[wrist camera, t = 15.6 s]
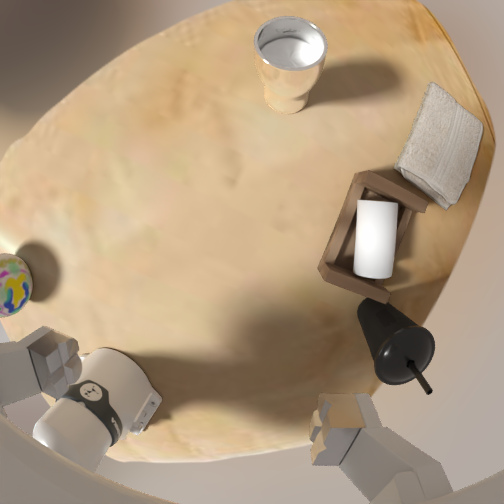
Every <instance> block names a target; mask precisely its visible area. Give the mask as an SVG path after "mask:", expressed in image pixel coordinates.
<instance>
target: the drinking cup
mask: <svg viewBox="0 0 504 504" xmlns="http://www.w3.org/2000/svg"><path fill="white" fill-rule="evenodd" d="M357 315H358V319H359V321H360V324H361V327H362V329H363V332H364V335H365V337H366V340H367V343H368V346H369V349H370V351H371V354H372V357H373V360H374V369H375V373H376V375H377V377H378V378H379V379H380V380H381V381H382V382H384V383H386V384H389V385H400V384H404V383H407V382H409V381H411V380H413V379H414V378H417V380H418V381H419V383H420V384H421V386H422V388H423V389H424V391H425V392H426V394H428V395H429V394H431V393H432V391H433V390H432V388H431V387H430V385H429V384H428V382H427V381H426V380H425V378H424V377H423V375H422V374H421V373H422V372H423V371H424V370H425V369H426V368H427V366H428V365H429V363H430V362H431V360H432V357H433V355H434V351H435V341H434V338H433V336H432V334H431V333H430V332H429V331H428V330H427V329H426V328H424V327H421V326H418V325H417V324H416V323H414V322H413V321H412V320H410V319H409V318H408V317H406V316H405V315H404V314H403V313H401V312H400V311H399V310H397V309H396V308H395V307H393V306H392V305H391V304H389V303H388V302H387V303H386V304H384V303H381V302H378V301H376V300H373V299H371V298H366V299H365V300H363V301H362V302H361V304H360V305H359V308H358V311H357Z"/></svg>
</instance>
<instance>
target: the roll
mask: <svg viewBox="0 0 504 504" xmlns="http://www.w3.org/2000/svg"><path fill="white" fill-rule="evenodd" d="M397 214H398V203H394V202H386V201H374V200H357V224H356V241H355V254H354V266H353V272H354V273H355V274H357V275H359V276H363V277H367V278H376V279H383V278H389V277H391V276H392V271H393V263H394V253H395V243H396V230H397Z"/></svg>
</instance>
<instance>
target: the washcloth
mask: <svg viewBox="0 0 504 504" xmlns="http://www.w3.org/2000/svg"><path fill="white" fill-rule="evenodd" d="M414 120H415V121H414V123H413V126H412V130H411V131H410V134H409V135H408V139H407V141H406V143H405V145H404V147H403V149H402V152H401V154H400V156H399V157H398V159H397V162H396V163H395V166H394V169H396V170H397V171H399V172H400V173H401V174H402V175H403V177H404V179H406V180H407V181H409V182H410V183H411V184H412V185H414V186H415V187H416V188H418V189H420V190H421V191H423V192H424V193H425V194H426V195H428V196H429V197H430V198H431V199H432V200H434V201H435V202H436V203H437V204H438V205H440V206H441V207H442V208H444V209H445V210H447V209H448V207H449V206H450V205H451V204H456V203H457V201H458V199H459V197H460V195H461V193H462V190H463V189H464V187H465V185H466V183H468V182H469V179H470V174H471V171H472V167H473V164H474V161H475V158H476V156H477V152H478V147H479V143H480V139H481V136H482V132H483V125H482V123H481V121H479V120H478V119H477V118H476V117H475V116H474V115H473V114H471V113H470V112H469V111H468V110H465V109H464V108H463V107H462V106H461V105H460V104H458V103H457V102H456V101H455V99H454V98H453V97H452V96H450V94H448V92H446V91H445V90H444V89H442V88H441V87H439V86H438V85H437V84H436V83H434V82H430V83H428V86H427V90H426V91H425V95H424V97H423V100H422V103H421V105H420V108H419V111H418V112H417V116H416V117H415V119H414Z"/></svg>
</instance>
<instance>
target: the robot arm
mask: <svg viewBox="0 0 504 504" xmlns="http://www.w3.org/2000/svg"><path fill="white" fill-rule="evenodd" d="M78 351H79V346H78V341H76V340H75V339H74V338H72V337H70V336H67V335H65V334H63V333H61V332H58V331H56V330H54V329H51V328H49V327H47V326H42V327H40V328H39V329H37V330H36V331H34V332H33V333H31V334H29V335H28V336H26V337H25V338H23V339H22V340H20V341H19V342H15V341H13V342H7V343H0V504H178V503H175V502H171V501H168V500H164V499H160V498H158V497H154V496H151V495H148V494H145V493H142V492H140V491H136V490H134V489H131V488H129V487H126V486H124V485H121V484H119V483H116V482H114V481H112V480H109V479H107V478H105V477H102V476H100V475H98V474H96V473H95V471H96V469H97V467H98V465H99V464H100V462H101V460H102V458H103V456H104V455H105V453H106V452H107V450H108V448H109V447H111V446H113V445H114V444H115V443H116V442H117V441H118V439H119V440H124V439H126V438H127V436H128V435H129V433H130V432H132V433H134V434H136V435H138V434H139V433H141V432H142V431H143V429H144V428H145V426H146V425H147V423H148V422H149V420H150V419H151V417H152V416H153V414H154V413H155V411H156V410H157V408H158V406H159V405H160V403H161V402H162V398H161V396H160V395H159V394H158V393H157V392H156V391H155V390H154V389H153V388H152V386H151V384H150V382H149V380H148V378H147V376H146V375H145V373H144V372H143V371H142V369H141V368H140V367H139V366H138V365H137V364H136V363H135V362H134V361H132V360H131V359H130V358H129V357H127V356H125V355H124V354H122V353H120V352H118V351H115V350H112V349H108V348H100V349H97V350H95V351H93V352H92V353H91V354H82V355H80V357H79V356H78V354H77V353H78ZM41 391H42V392H44V393H46V394H48V395H50V396H52V397H53V398H55V399H56V403H55V404H54V405H53V406H52V407H51V408H50V409H49V410H48V411H47V412H46V413H45V414H44V415H43V416H42V418H40V419H39V420H38V422H37V423H36V424H35V427H34V430H33V437H31V436H30V435H29V434H27V433H26V432H25V431H23V430H22V429H20V428H19V427H18V426H16V425H15V424H14V423H12V422H11V421H10V420H9V419H7V414H6V412H5V410H4V408H3V406H6V405H9V404H11V403H14V402H17V401H20V400H23V399H25V398H28V397H31V396H33V395H36V394H39V393H41ZM317 405H318V409H317V410H316V411H314V412H313V415H312V417H311V421H310V427H309V437H310V440H311V441H312V442H313V445H312V448H311V458H312V465H319V466H320V465H321V466H323V465H324V466H339V468H340V469H341V470H342V471H343V472H344V473H345V474H346V476H347V477H348V478H349V479H350V480H351V481H352V482H353V484H354V485H355V486H356V487H357V488H358V489H359V490H360V491H361V492H362V493H363V495H364V496H365V497H366V498H367V499H368V500H369V501H370V503H369V504H504V470H502V471H500V472H498V473H496V474H494V475H492V476H490V477H488V478H486V479H484V480H481V481H479V482H477V483H475V484H472V485H470V486H468V487H465V488H463V489H460V490H458V491H455V492H453V490H452V487H451V485H450V483H449V481H448V479H447V476H446V475H445V472H444V470H443V468H442V465H441V463H440V462H438V461H436V460H435V459H433V458H432V457H430V456H429V455H427V454H426V453H424V452H423V451H421V450H420V449H418V448H417V447H415V446H414V445H412V444H411V443H409V442H408V441H406V440H405V439H403V438H402V437H401V436H399V435H398V434H396V433H395V432H393V431H392V430H391V429H389V428H388V427H383V426H382V424H381V421H380V419H379V417H378V414H377V412H376V409H375V407H374V404H373V402H372V399H371V397H370V395H369V394H368V393H352V394H345V393H321V394H320V396H319V398H318V401H317Z"/></svg>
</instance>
